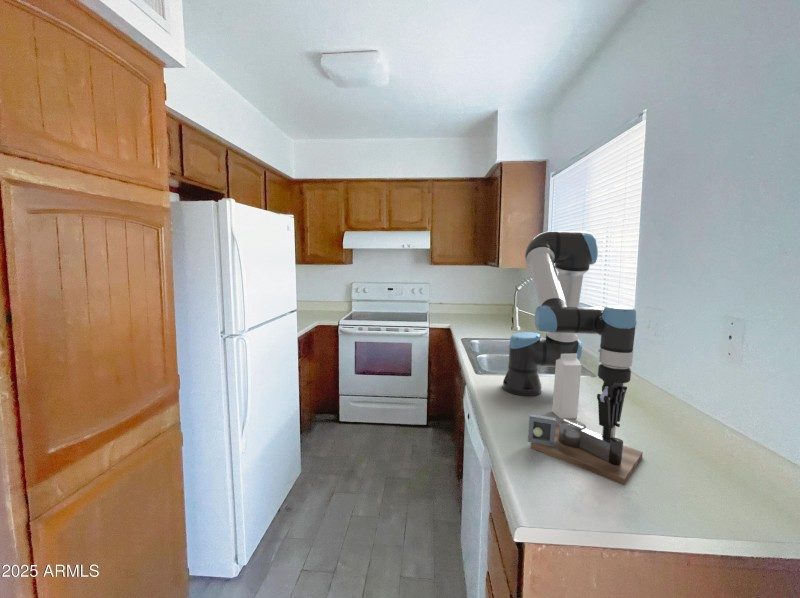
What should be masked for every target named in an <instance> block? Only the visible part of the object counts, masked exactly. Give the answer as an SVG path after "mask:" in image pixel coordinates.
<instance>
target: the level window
mask: <svg viewBox="0 0 800 598" xmlns="http://www.w3.org/2000/svg"><path fill="white" fill-rule="evenodd" d="M528 418H529V419H528V420H529V421H528V435H527V442H529V443H531V442H532V443H537V444H543V445H548V446H553V447H554V439H555V426H556V423H557V418H556V417H552V416H551V417H550V416H544V415H538V414H532V413H529V417H528Z"/></svg>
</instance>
